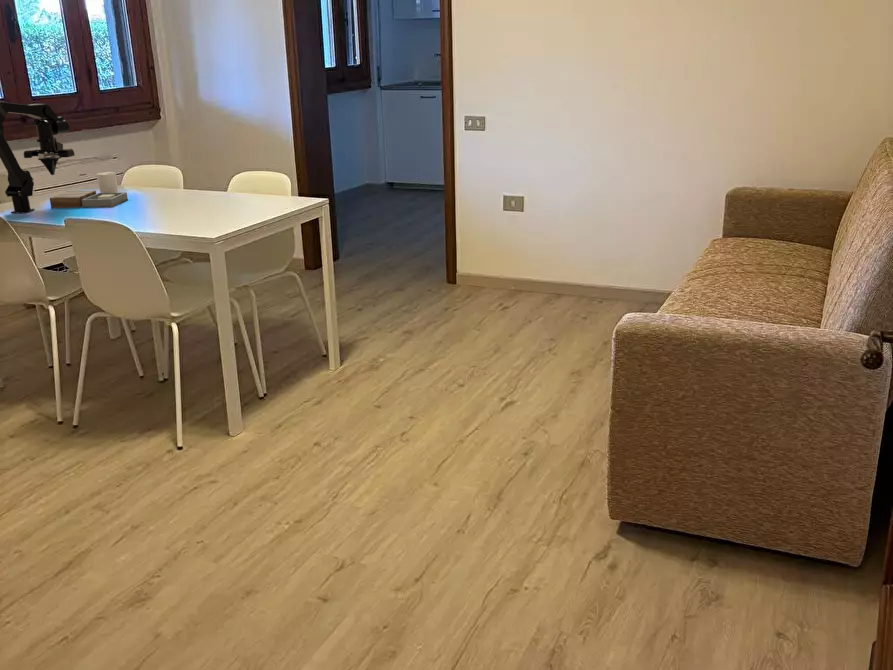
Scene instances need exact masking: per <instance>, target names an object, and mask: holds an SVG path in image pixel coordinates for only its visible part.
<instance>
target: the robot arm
mask: <svg viewBox="0 0 893 670" xmlns="http://www.w3.org/2000/svg"><path fill="white" fill-rule="evenodd" d="M8 114H18V115H25V116H28V117H30V118H32V119H34V120H33V121H32V122H31V123H30V125H31V126H35V127H36V134H37V138H38V139H36V142H37V143H39V148H40V149H28V150H24V151H23V158H24V159H32V158H34V157H38V158H37V160H38V161H40V162H41V163H42V164H43V166H44V167H45V168H46V169H47V171H48V172H49V174H50V175H51V176H54V175H55V173H56V167H57V164H58V162H59V159H61V158H72V157H74V156H75V151H74V149H72V148H64V144H63V143H62V142H59V141H57V138H56V137H55V135H62V134H63V135H64V134H67V133H69V131H70V124H69V123H68V122H67V120H66V119H65V117H64V116H58V115H57V114H56V113H55V112H54V110H53V109H52V108H51V106H50V104H48V103H32V104H31V103H30V104H23V103H14V102H7V101H4V100H3V101H2V100H0V160H1V162H2V164H3V166H4V168H5V170H6V172H7V182H8V186H7V187H6V189H5V192H4V193H5V195H6V197H7V198H8V197H11V200H12V205H13V209H14V210H12V211H10V213H11V214H26V213H29V212H33V211H35V208H31V202H30V199H29V197H31V196H32V197H33V194H34V185H35V183H34V178H33V176H32V174H31V172H30V171H29V170H24V169H22V167H21V166H20V164H19V162H18V160H17V157H16V156H15V154H14V152H13V151H12V149H11V146H10V145H9V143H8V140H7V139H6V137H5V135H4V134H5V131H4V130H5V127H4V122H5V120H6V119H7V115H8Z"/></svg>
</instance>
